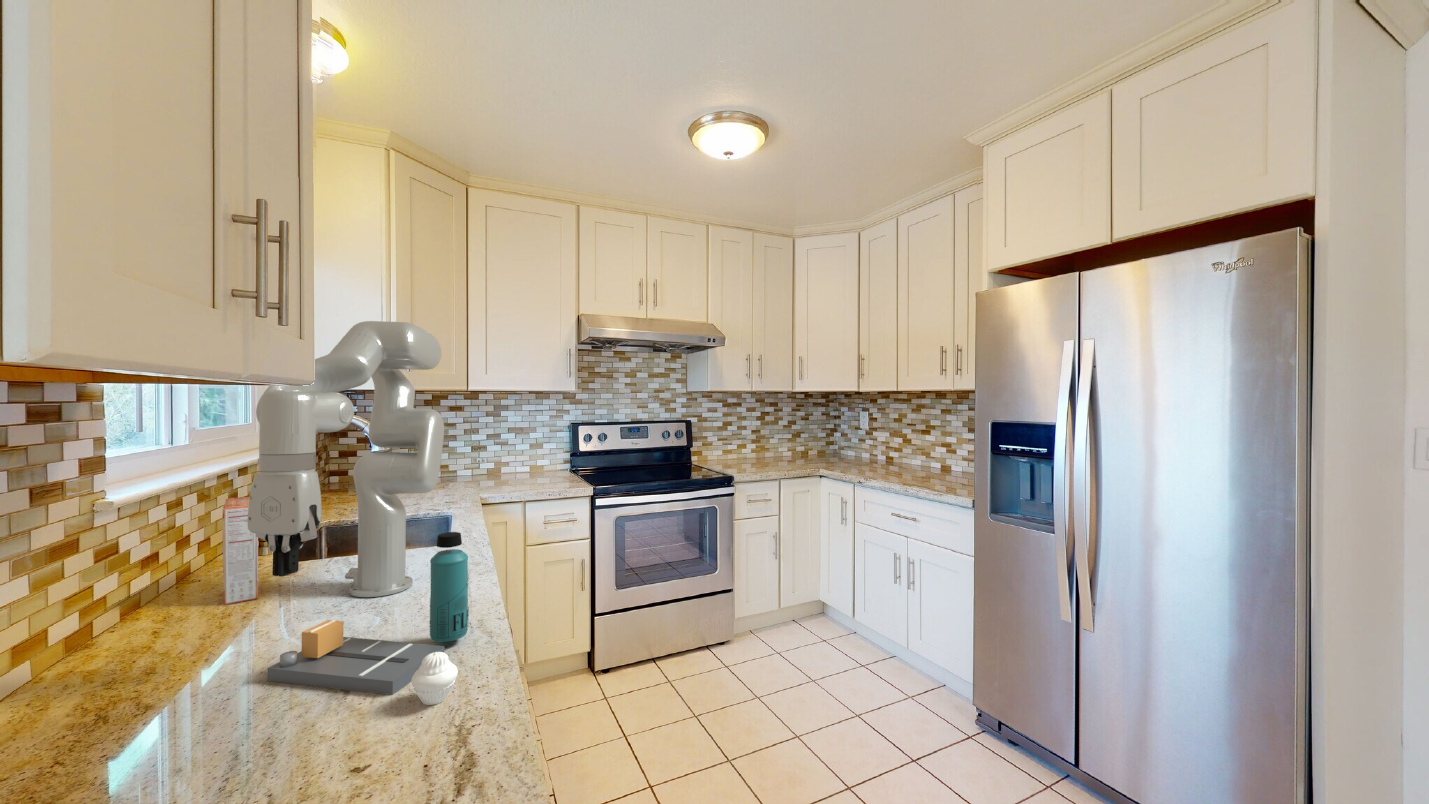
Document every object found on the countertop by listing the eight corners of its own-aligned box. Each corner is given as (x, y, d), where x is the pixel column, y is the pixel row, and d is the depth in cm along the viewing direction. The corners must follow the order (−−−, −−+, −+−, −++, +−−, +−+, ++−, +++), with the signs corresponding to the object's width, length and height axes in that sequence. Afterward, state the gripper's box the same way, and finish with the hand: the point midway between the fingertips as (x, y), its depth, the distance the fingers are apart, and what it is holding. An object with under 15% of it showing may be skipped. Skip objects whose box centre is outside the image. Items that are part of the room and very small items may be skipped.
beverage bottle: (453, 652, 96) (454, 538, 96) (419, 648, 98) (421, 536, 97) (476, 637, 103) (477, 530, 102) (445, 633, 104) (446, 528, 104)
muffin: (404, 700, 81) (404, 652, 81) (447, 684, 86) (447, 639, 86) (421, 716, 77) (421, 666, 77) (464, 698, 82) (465, 651, 82)
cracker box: (223, 588, 127) (224, 497, 127) (257, 583, 131) (258, 495, 131) (221, 606, 116) (222, 507, 116) (258, 599, 120) (259, 504, 120)
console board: (267, 680, 86) (267, 657, 86) (332, 646, 98) (332, 626, 98) (392, 694, 82) (392, 670, 82) (444, 657, 94) (444, 636, 94)
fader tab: (301, 656, 89) (301, 630, 89) (327, 643, 94) (328, 618, 94) (317, 658, 89) (317, 632, 89) (343, 644, 93) (343, 620, 93)
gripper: (227, 465, 90) (224, 578, 89) (306, 467, 87) (304, 583, 87) (271, 461, 97) (269, 565, 97) (345, 463, 95) (343, 570, 94)
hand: (285, 573), depth 92 cm, fingers closed
